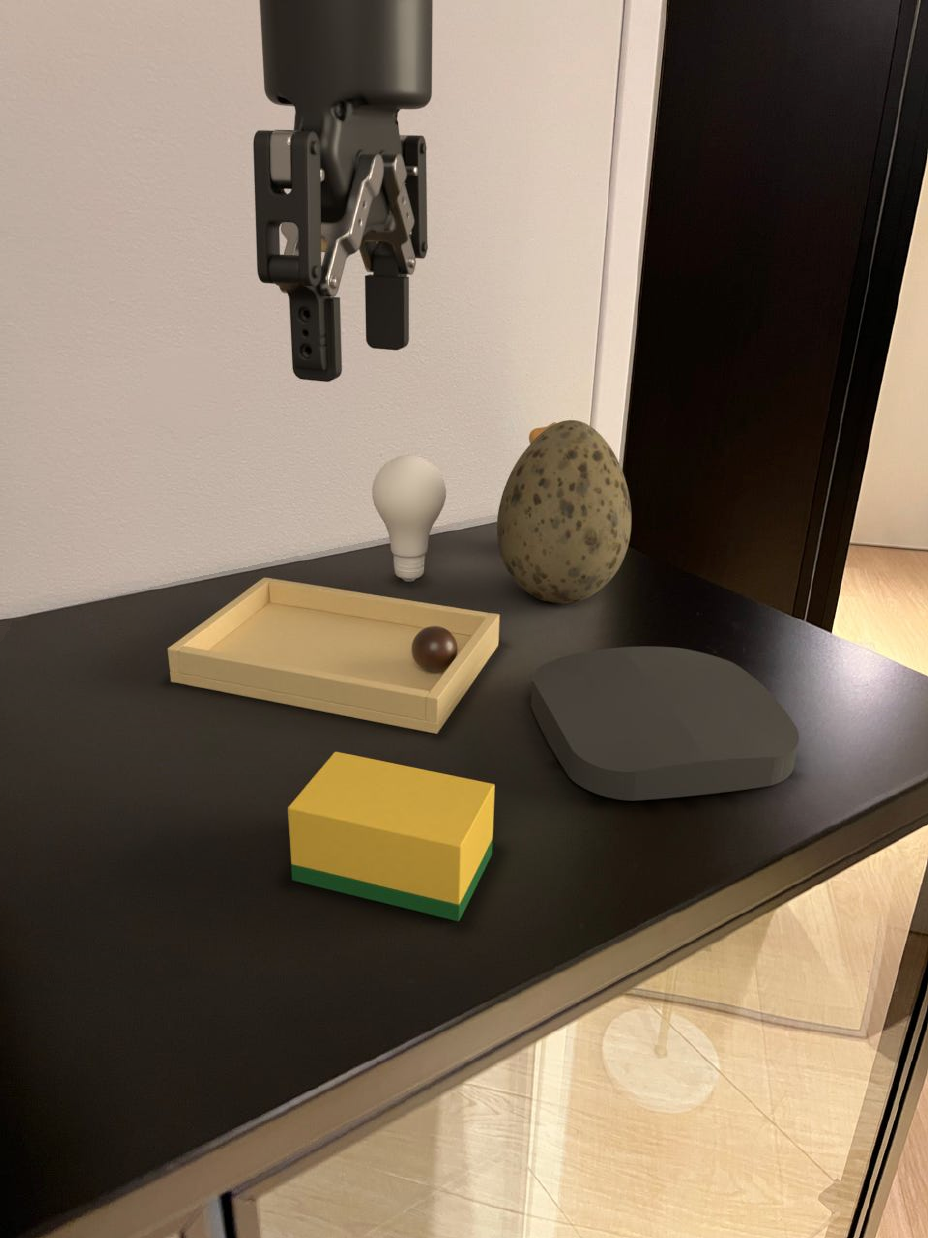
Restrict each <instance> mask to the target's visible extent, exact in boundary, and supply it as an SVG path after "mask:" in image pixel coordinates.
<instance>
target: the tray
mask: <svg viewBox="0 0 928 1238" xmlns="http://www.w3.org/2000/svg"><path fill="white" fill-rule="evenodd" d="M430 626H439V627H443V628H445V629H447V630H448V631H449V632H451V633H452V635H453V636H454V638H455V640H456V642H457V647H458V651H457V656H456V658H455V659H454V660H453V662H452V663H451V664H450V666H449V667H448V668H447V669H445V670H443V671H440V672H429V671H426V670H424V669H422V668H421V667H419V666H418V665H417V663H416V662H415V660H414V658H413V656H412V642H413V640H414V638H415V636H416V635H417V634H418V633H419V632H420V631H421V630H422V629H424V628H427V627H430ZM499 635H500V614H499V613H493V612H486V611H485V612H484V611H479V610H474V609H473V610H472V609H466V608H461V607H460V608H459V607H455V606H447V605H440V604H435V603H429V602H421V601H416V600H410V599H403V598H396V597H390V596H386V595H385V596H384V595H379V594H372V593H366V592H359V591H353V590H346V589H340V588H335V587H334V588H333V587H328V586H321V585H315V584H308V583H304V582H303V583H302V582H296V581H289V580H284V579H277V578H270V577H263V578H260V580H259V581H257V582H256V583H255V584H253V585H251V587H249V588H247V589H246V590H245V591H244V592H242V593H241V594H239V596H237V597H236V598H234V599H232V600H231V601H230V602H228V604H226V605H225V606H223V607H221V609H219V610H218V611H216V612H215V613H214V614H212V615H211V616H210V617H209V618H207V619H206V620H203V622H202V623H200V624H199V625H197V626H196V627H195V628H194V629H191V631H189V632H187V634H185V635H184V636H183V637H181V638H180V639H178V640H177V641H176V642H174V643H173V644H172V645H171V646H169V647H168V648H167V655H168V663H169V671H170V672H169V676H170V682H171V683H176V684H180V685H186V686H189V687H196V688H201V689H207V690H211V691H217V692H222V693H226V694H232V695H237V696H241V697H248V698H250V699H251V698H252V699H258V700H262V701H267V702H272V703H277V704H282V705H287V706H293V707H299V708H303V709H308V710H313V711H319V712H324V713H327V714H328V713H329V714H334V715H339V716H343V717H344V716H345V717H349V718H354V719H360V720H365V721H370V722H374V723H379V724H383V725H389V726H395V727H399V728H405V729H410V730H416V731H420V732H425V733H431V734H436V735H438V734H439V732H440V730H441V729H442V727H443V726H444V725H445V723H446V722H447V721H448V719H449V718H450V717H451V715H452V713H453V712H454V710H455V709H456V707H457V706H458V704H459V703H460V702H461V700H462V699H463V697H464V696H465V694H466V693H467V692H468V690H469V689H470V687H471V686H472V684H473V683H474V681H475V680H476V678H477V677H478V675H479V674H480V673H481V671H482V670H483V668H484V667H485V665H486V664H487V663H488V661H489V660H490V658H491V656H492V655H493V654H494V652H495V651H496V650H497V648H498V647H499V640H500V639H499V638H500V637H499Z"/></svg>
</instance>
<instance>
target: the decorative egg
mask: <svg viewBox="0 0 928 1238" xmlns="http://www.w3.org/2000/svg"><path fill="white" fill-rule="evenodd" d="M497 512H498V513H497V518H496V519H497V520H496V537H497V546H498V549H499V553H500V556H501V560H502V562H503V564H504V566H505V568H506V571H508V573H509V574H510V576H511V578H512V579H513V580H514V582H516V583H517V585H518V586H519V587H520V588H522V589H523V590H524V591H525V592H527V593H528V594H529V595H531V596H532V597H534V598H536V599H538V600H540V601H544V602H550V603H554V604H557V605H561V604H562V605H563V604H573V603H578V602H580V601H583V600H585V599H588V598H590V597H591V596H594V594H596V593H598V592H599V591H600V590H602V589H603V588H604V587H605V586H606V585H607V584H608V583H609V582H610V581H611V580H612V579H613V578H614V576H615V575H616V573H617V572H618V571H619V569H620V567H621V566H622V563H623V561H624V560H625V557H626V554H627V551H628V548H629V544H630V540H631V533H632V505H631V498H630V492H629V488H628V485H627V481H626V477H625V474H624V471H623V469H622V466H621V464H620V462H619V460H618V458H617V456H616V454H615V453H614V451H613V449H612V448H611V445H609V443H608V442H607V441H606V439H605V438H604V437H603V436H602V435H601V434H600V433H599V432H598V431H597V430H596V429H595V428H593V426H591V425H589V424H588V423H586V422H583V421H580V420H575V419H567V420H562V421H559V422H556V424H554V425H552V426H550V427H549V428H547V429H546V430H545V431H543V432H542V433H541V434H540V435H539V436H538V437H537V438H536V439H535V440H534V441H533V442H532V443H531V444H530V443H529V445H528V446H527V447H526V448H525V450H524V451H523V452H522V453H521V455H520V457H519V458H518V459H517V461H516V463H515V464H514V466H513V468H512V470H511V472H510V473H509V476H508V478H507V480H506V483H505V486H504V488H503V491H502V494H501V497H500V501H499V505H498V510H497Z"/></svg>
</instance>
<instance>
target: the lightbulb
mask: <svg viewBox="0 0 928 1238" xmlns="http://www.w3.org/2000/svg"><path fill="white" fill-rule="evenodd" d="M371 492H372V493H371V495H372V497H371V498H372V501H373V505H374V507H375V509H376V511H377V513H378V515H379V517H380V518H381V520H382V522H383V524H384V526H385V528H386V531H387V533H388V538H389V543H390V552H391V553H392V554H393V569H394V574H395V575H396V577H398V578H400V579H402V580H403V581H404V582H406V583H408V582H409V583H412V582H415V581H416V579H418V578H421V577H422V576H423V575H424V572H425V562H426V561H425V559H426V554H427V552H428V550H429V549H428V548H429V541H430V539H429V538H430V535H431V531H432V529H433V526H434V524H435V523H436V521H437V519H438V518H439V516H440V514H441V512H442V510H443V508H444V506H445V502H446V498H447V488H446V482H445V479H444V476H443V475H442V473H441V471H440V470H439V469H438V468H437V467H436V466H435V464H434V463H432V462H431V461H430V460H428V459H426V458H424V457H423V456H418V455H412V454H411V455H410V454H406V455H399V456H396V457H394V458H392V459H390V460H388V461H386V463H384V464H383V465H382V467H380V469H379V470H378V472H377V473H376V475H375V476H374V480H373V482H372V489H371Z"/></svg>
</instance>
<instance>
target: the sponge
mask: <svg viewBox="0 0 928 1238" xmlns="http://www.w3.org/2000/svg"><path fill="white" fill-rule="evenodd" d="M495 787H496V786H495V784H494V783H490V782H485V781H480V780H476V779H471V778H467V777H461V776H457V775H451V774H447V773H442V772H436V771H432V770H427V769H422V768H419V767H418V768H417V767H413V766H409V765H408V766H407V765H403V764H398V763H394V762H388V761H383V760H379V759H373V758H370V757H364V756H359V755H354V754H350V753H345V752H340V751H334V752H333V753H332V754H331V756H329V758H328V759H327V760H326V761H325V762H324V764H323V765H322V766H321V768H320V769H318V771H317V772H316V774H315V775H314V776H313V777H312V778H311V780H309V782H308V783H307V784H306V785H305V786H304V787H303V789H302V790H301V791H300V792H299V794H297V796H296V797H295V798H294V800H292V802H291V803H290V804H289V805H288V806H287V818H288V832H289V833H288V834H289V849H290V850H289V851H290V869H291V880H292V881H294V882H297V883H302V884H306V885H308V886H309V885H310V886H314V887H318V888H320V889H321V888H322V889H326V890H330V891H332V892H333V891H334V892H338V893H341V894H346V895H349V896H353V897H358V898H362V899H366V900H370V901H374V902H377V903H382V904H386V905H390V906H394V907H399V908H402V909H406V910H411V911H415V912H418V913H423V914H426V915H430V916H435V917H438V918H442V919H447V920H450V921H455V922H460V920H461V918H462V916H463V914H464V913H465V910H466V908H467V906H468V904H469V902H470V900H471V898H472V896H473V894H474V892H475V890H476V888H477V886H478V884H479V882H480V880H481V878H482V876H483V874H484V872H485V870H486V868H487V866H488V863H489V862H490V860H491V857H492V856H493V842H494V841H493V839H494V838H493V836H494V814H495V813H494V811H495V810H494V809H495Z"/></svg>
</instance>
